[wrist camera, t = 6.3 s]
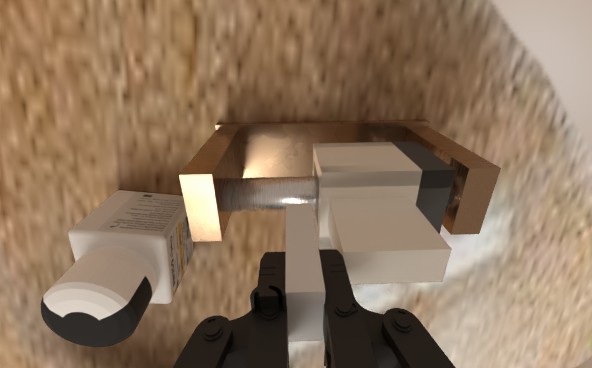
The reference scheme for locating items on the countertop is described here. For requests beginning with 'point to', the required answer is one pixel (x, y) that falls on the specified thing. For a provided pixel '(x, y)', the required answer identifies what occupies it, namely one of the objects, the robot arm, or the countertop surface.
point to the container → (119, 267)
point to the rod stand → (299, 170)
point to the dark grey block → (430, 181)
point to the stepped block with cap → (375, 214)
